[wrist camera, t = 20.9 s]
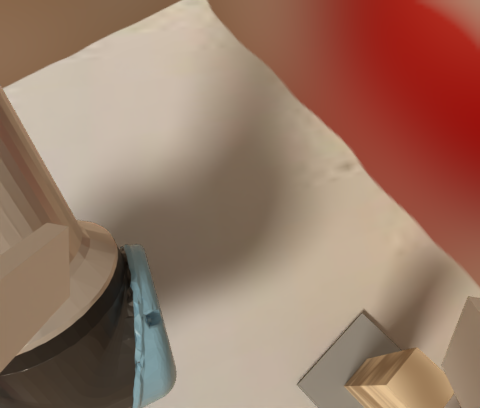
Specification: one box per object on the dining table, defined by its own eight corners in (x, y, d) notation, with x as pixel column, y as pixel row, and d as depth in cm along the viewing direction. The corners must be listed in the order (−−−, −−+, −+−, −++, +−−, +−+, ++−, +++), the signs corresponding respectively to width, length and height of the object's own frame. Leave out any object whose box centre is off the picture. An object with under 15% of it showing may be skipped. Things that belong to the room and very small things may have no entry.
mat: (376, 469, 42) (377, 470, 42) (296, 384, 45) (297, 384, 45) (438, 387, 45) (441, 387, 45) (360, 313, 48) (362, 313, 48)
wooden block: (372, 416, 44) (429, 427, 31) (343, 386, 45) (386, 385, 32) (395, 387, 45) (459, 386, 32) (366, 358, 46) (416, 347, 33)
